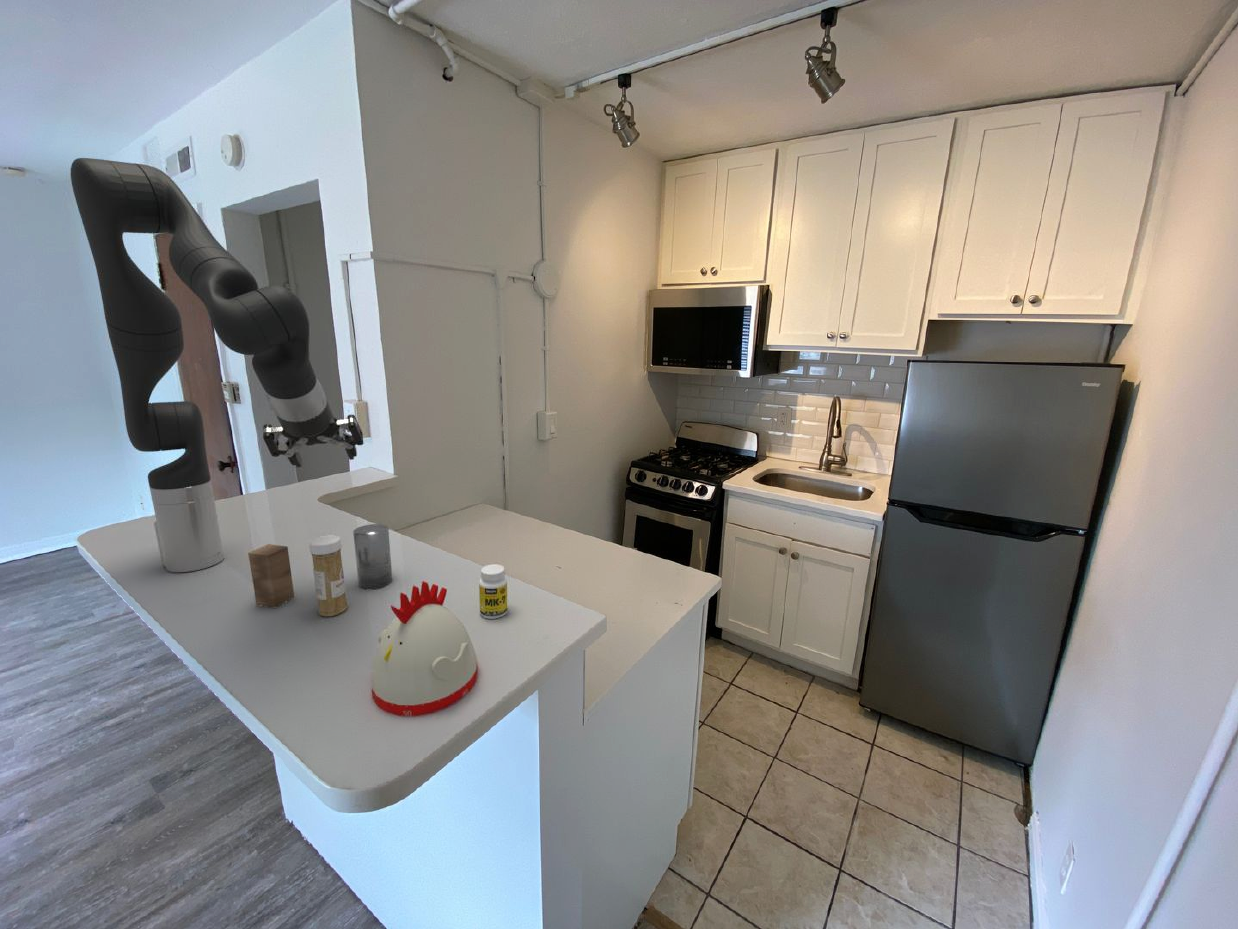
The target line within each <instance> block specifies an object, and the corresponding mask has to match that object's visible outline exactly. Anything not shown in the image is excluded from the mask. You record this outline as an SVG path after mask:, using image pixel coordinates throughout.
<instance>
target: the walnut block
mask: <svg viewBox="0 0 1238 929" xmlns="http://www.w3.org/2000/svg"><path fill="white" fill-rule="evenodd" d="M248 560H249V566H250V572H251V579H252V584H253V591H254V598H255V603H256V604H255V605H256V606H258V605H262V606H261V607H264V606H267V607H266V608H270V607H277V608H279V607H281V606H282V605H283V603H284V604H285V602H286V601H287V602H289V601H291V600H292V598H293V599H294V598H295V592H294V584H293V577H292V576H293V575H292V569H291V563H290V555H289V547H288V546H285V545H279V544H278V545H277V544H271V543H268V544H266V545H263V546H261V547H259V548H256V549H254V550H252V551H250V552H248ZM287 602H286V603H287ZM278 606H279V607H278Z"/></svg>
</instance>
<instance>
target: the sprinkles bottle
mask: <svg viewBox="0 0 1238 929" xmlns="http://www.w3.org/2000/svg"><path fill="white" fill-rule="evenodd" d="M341 551H342V540H341V537H340V536H338V535H336V534H335V535H333V534H329V535H328V534H326V535H321V536H318V537H314V538H313V539H311V540H310V541H309V552H310V554H311V558H312V567H313V569H312V570H313V576H314V584H315V593H316V598H317V602H318V604H317V605H318V606H317V607H318V614H319V615H320V616H321V617H334V616H338V615H341V614H342V613H344V612H345V611H346V610H348V606H349V605H348V602H347V597H346V596H347V595H346V584H345V575H344V567H343V561H342V560H343V559H342V552H341Z"/></svg>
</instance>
